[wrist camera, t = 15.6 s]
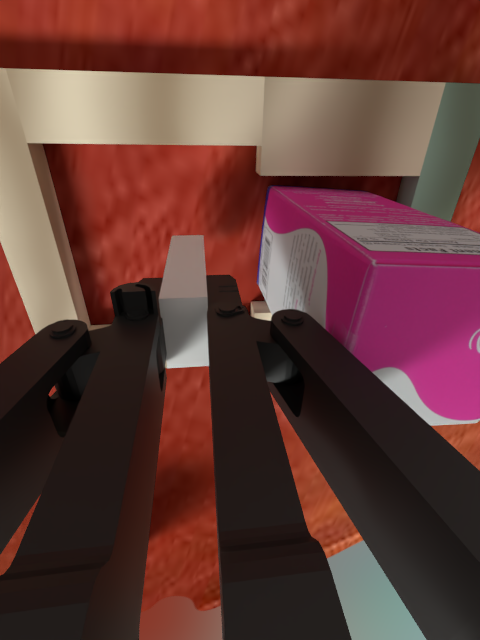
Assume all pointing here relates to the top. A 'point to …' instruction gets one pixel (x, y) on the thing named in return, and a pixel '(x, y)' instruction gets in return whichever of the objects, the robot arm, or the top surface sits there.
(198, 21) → the top surface
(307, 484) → the top surface
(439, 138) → the cream and green frame
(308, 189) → the supplement box
